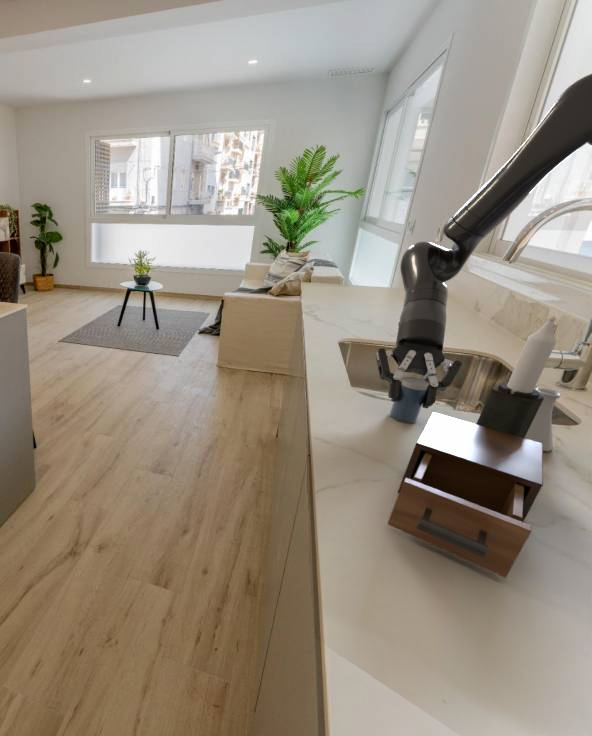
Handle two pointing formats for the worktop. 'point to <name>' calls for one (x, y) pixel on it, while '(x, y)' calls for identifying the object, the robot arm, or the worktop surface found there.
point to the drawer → (463, 512)
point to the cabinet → (482, 453)
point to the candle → (520, 387)
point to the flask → (543, 420)
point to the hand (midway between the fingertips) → (410, 403)
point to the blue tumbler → (409, 400)
